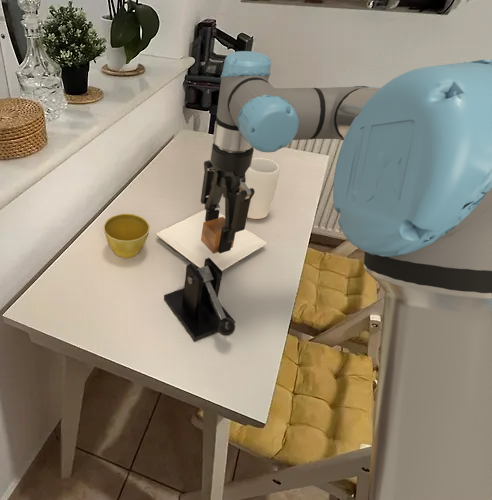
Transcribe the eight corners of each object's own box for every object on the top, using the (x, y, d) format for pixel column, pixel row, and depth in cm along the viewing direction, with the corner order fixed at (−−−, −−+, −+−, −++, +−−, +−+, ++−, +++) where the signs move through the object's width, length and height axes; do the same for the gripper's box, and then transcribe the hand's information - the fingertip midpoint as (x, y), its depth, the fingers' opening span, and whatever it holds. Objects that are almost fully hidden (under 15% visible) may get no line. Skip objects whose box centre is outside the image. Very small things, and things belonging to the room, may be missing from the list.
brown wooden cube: (232, 247, 92) (236, 229, 89) (213, 254, 91) (216, 235, 88) (219, 234, 96) (222, 216, 93) (200, 240, 94) (203, 222, 91)
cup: (234, 220, 109) (244, 171, 100) (236, 202, 116) (245, 155, 107) (268, 225, 108) (281, 176, 99) (268, 207, 114) (280, 159, 105)
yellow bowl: (156, 248, 100) (158, 223, 96) (132, 272, 94) (132, 247, 89) (122, 232, 105) (121, 208, 100) (96, 254, 98) (94, 230, 94)
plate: (154, 239, 103) (155, 232, 102) (209, 212, 112) (210, 206, 111) (210, 283, 92) (211, 276, 91) (266, 249, 101) (268, 242, 100)
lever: (233, 333, 78) (241, 330, 75) (218, 339, 77) (226, 336, 74) (204, 269, 81) (211, 263, 78) (190, 273, 80) (196, 268, 77)
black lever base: (234, 325, 83) (244, 282, 75) (194, 342, 80) (201, 298, 72) (200, 286, 91) (207, 243, 84) (163, 299, 88) (166, 255, 80)
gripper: (282, 162, 73) (256, 263, 88) (222, 122, 86) (208, 216, 101) (246, 171, 71) (226, 274, 86) (190, 128, 83) (180, 224, 98)
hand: (216, 243), depth 93 cm, fingers closed on brown wooden cube, 5 cm apart
